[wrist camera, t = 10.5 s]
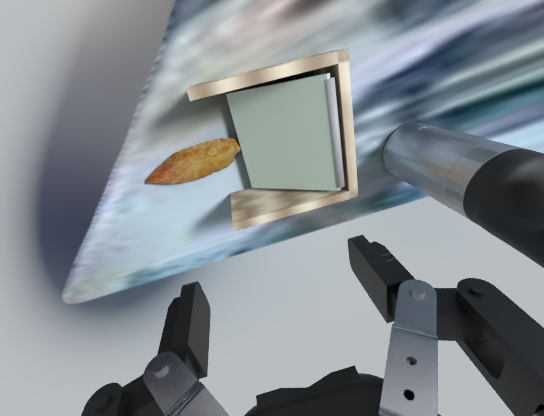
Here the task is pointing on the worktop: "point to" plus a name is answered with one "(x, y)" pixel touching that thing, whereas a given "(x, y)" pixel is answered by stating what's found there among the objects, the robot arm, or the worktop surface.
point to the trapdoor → (290, 134)
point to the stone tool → (196, 162)
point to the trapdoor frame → (285, 202)
